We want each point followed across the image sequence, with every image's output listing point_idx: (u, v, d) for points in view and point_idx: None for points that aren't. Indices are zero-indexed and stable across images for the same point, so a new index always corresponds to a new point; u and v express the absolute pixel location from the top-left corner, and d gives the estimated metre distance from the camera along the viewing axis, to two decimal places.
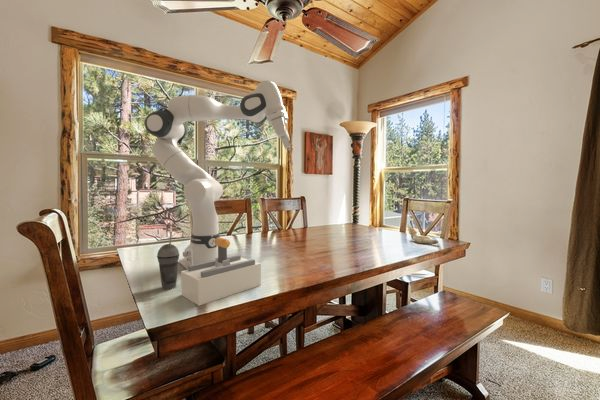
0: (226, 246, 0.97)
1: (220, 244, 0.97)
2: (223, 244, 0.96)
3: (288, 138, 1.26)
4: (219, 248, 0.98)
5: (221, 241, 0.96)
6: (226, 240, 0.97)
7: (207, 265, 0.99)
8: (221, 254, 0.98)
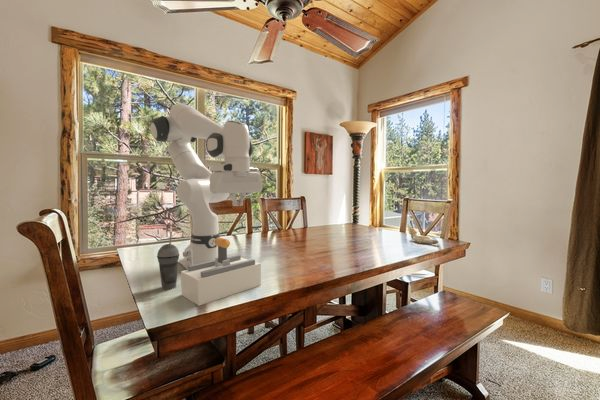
0: (226, 246, 0.97)
1: (220, 244, 0.97)
2: (223, 244, 0.96)
3: (246, 192, 1.03)
4: (219, 248, 0.98)
5: (221, 241, 0.96)
6: (226, 240, 0.97)
7: (207, 265, 0.99)
8: (221, 254, 0.98)
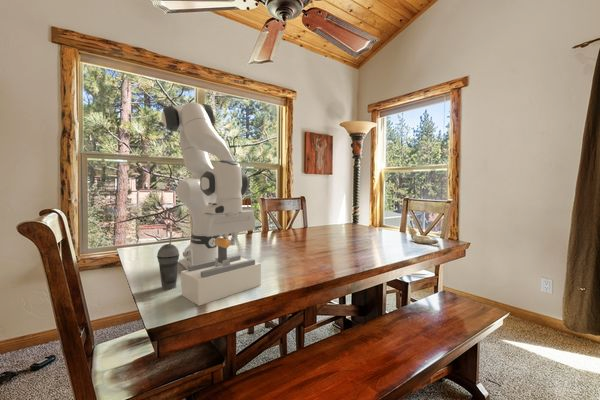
0: (226, 246, 0.97)
1: (220, 244, 0.97)
2: (223, 244, 0.96)
3: (239, 231, 1.02)
4: (219, 248, 0.98)
5: (221, 241, 0.96)
6: (226, 240, 0.97)
7: (207, 265, 0.99)
8: (221, 254, 0.98)
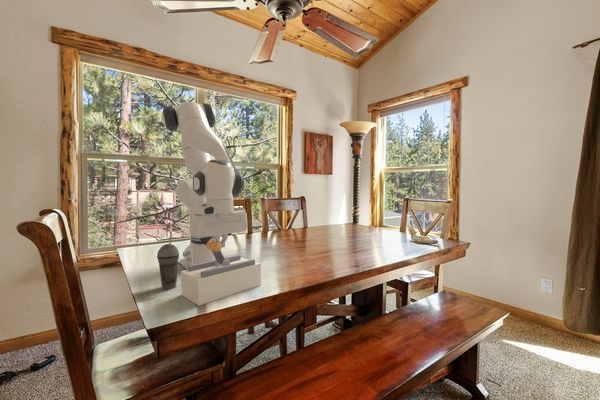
0: (219, 249, 0.95)
1: (212, 249, 0.94)
2: (215, 249, 0.94)
3: None
4: (213, 252, 0.97)
5: (212, 247, 0.94)
6: (216, 244, 0.94)
7: (207, 265, 0.99)
8: (217, 257, 0.97)
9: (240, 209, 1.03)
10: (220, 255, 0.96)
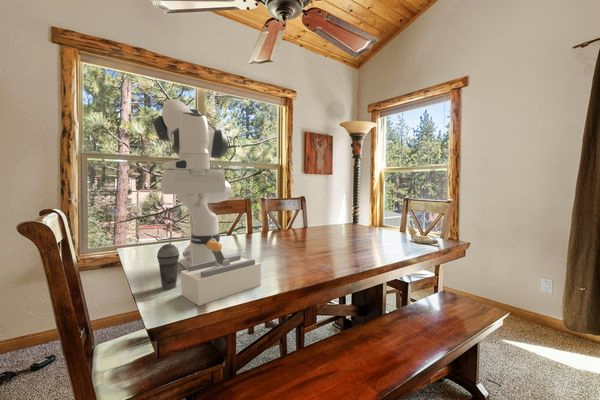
0: (219, 249, 0.95)
1: (212, 249, 0.95)
2: (215, 249, 0.94)
3: (206, 193, 0.92)
4: (213, 252, 0.97)
5: (212, 246, 0.94)
6: (217, 244, 0.94)
7: (207, 265, 0.99)
8: (218, 257, 0.97)
9: (218, 169, 0.96)
10: (220, 255, 0.97)
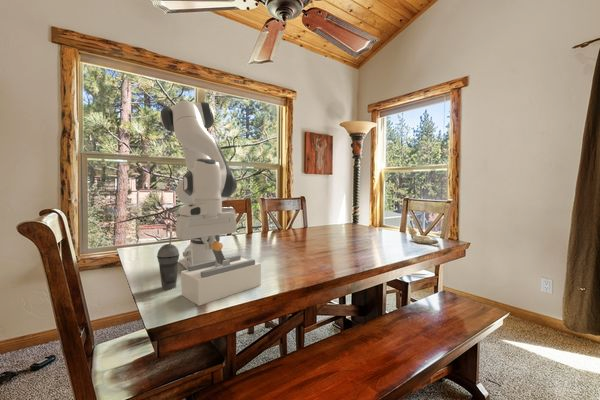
0: (219, 249, 0.95)
1: (213, 249, 0.95)
2: (216, 248, 0.94)
3: (218, 234, 0.96)
4: (214, 251, 0.97)
5: (213, 246, 0.94)
6: (217, 243, 0.94)
7: (207, 265, 0.99)
8: (218, 257, 0.97)
9: (229, 210, 1.00)
10: (220, 255, 0.97)
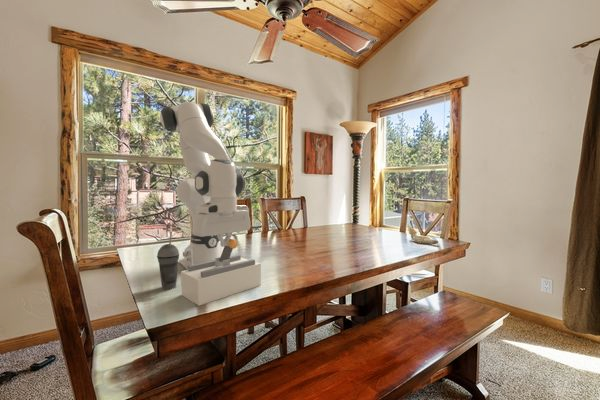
0: (233, 247, 0.99)
1: None
2: (231, 243, 0.98)
3: None
4: (225, 247, 1.00)
5: (230, 240, 0.99)
6: (235, 241, 0.99)
7: (207, 265, 0.99)
8: (225, 253, 0.99)
9: (243, 208, 1.04)
10: (229, 253, 0.99)
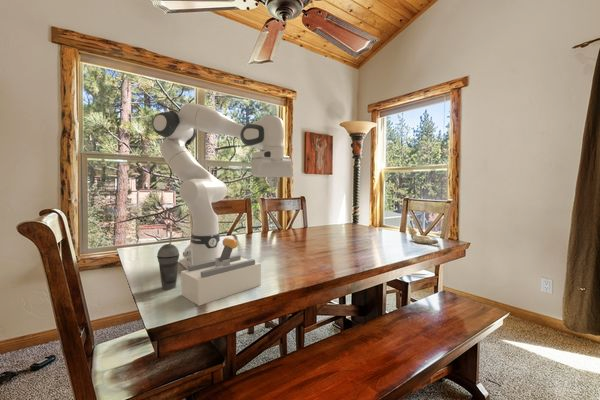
0: (233, 247, 0.99)
1: (228, 243, 0.99)
2: (231, 243, 0.98)
3: (280, 176, 1.20)
4: (225, 247, 1.00)
5: (230, 240, 0.99)
6: (235, 241, 0.99)
7: (207, 265, 0.99)
8: (225, 253, 0.99)
9: (287, 158, 1.24)
10: (228, 253, 0.99)
